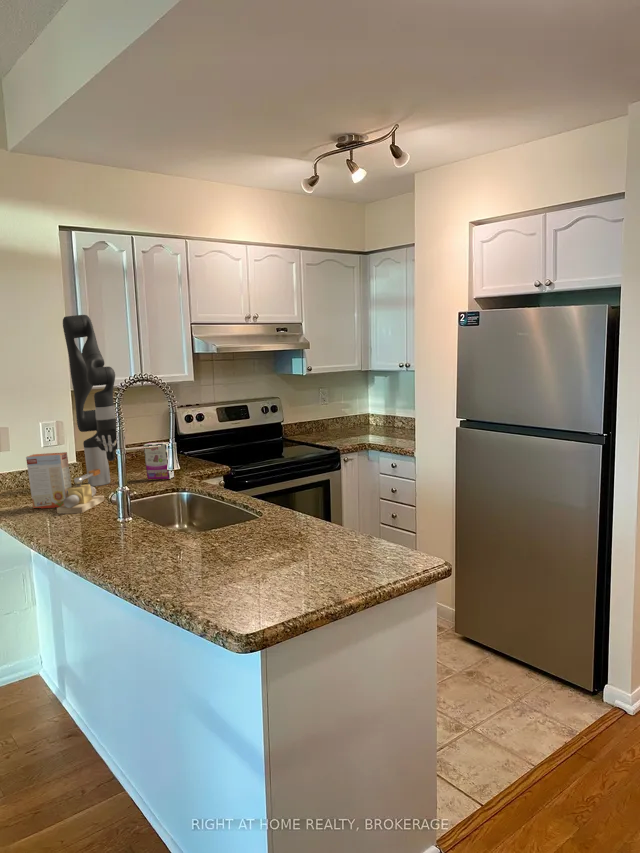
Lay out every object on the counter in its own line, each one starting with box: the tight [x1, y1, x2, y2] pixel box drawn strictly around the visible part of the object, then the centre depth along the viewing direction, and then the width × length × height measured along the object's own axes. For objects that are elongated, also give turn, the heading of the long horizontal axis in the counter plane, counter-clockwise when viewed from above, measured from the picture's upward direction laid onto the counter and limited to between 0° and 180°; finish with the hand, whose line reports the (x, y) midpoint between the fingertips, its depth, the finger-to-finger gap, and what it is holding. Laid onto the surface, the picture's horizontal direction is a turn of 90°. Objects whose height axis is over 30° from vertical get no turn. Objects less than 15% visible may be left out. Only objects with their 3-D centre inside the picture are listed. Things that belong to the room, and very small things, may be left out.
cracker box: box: [25, 451, 73, 509], centre depth 244 cm, size 14×6×21 cm, turn 84°
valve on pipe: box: [56, 483, 105, 514], centre depth 241 cm, size 17×10×9 cm, turn 172°
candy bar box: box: [143, 441, 175, 480], centre depth 281 cm, size 11×5×16 cm, turn 77°
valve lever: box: [73, 469, 100, 485], centre depth 246 cm, size 16×3×2 cm, turn 172°
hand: (111, 460), depth 251 cm, fingers closed
